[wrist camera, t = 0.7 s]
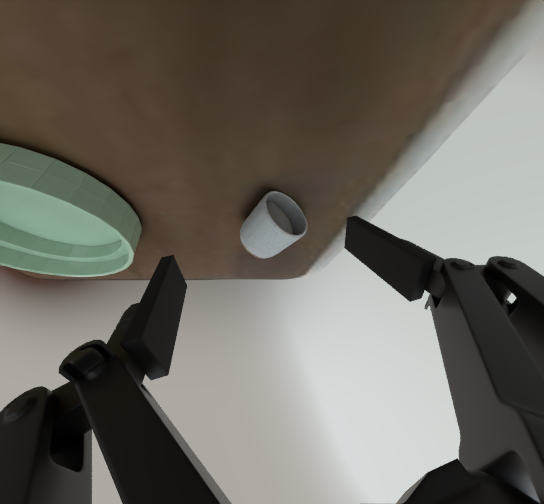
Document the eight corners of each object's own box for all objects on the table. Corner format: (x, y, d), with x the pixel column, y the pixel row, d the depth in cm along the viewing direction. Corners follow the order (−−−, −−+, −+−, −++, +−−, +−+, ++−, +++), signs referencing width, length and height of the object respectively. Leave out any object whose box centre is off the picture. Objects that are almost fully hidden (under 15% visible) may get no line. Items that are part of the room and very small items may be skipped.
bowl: (-156, 133, 17) (-237, 171, 14) (84, 136, 19) (58, 169, 16) (44, 251, 33) (26, 280, 30) (163, 245, 35) (156, 272, 32)
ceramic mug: (235, 219, 32) (237, 259, 28) (261, 182, 26) (268, 226, 22) (286, 235, 37) (293, 270, 33) (316, 208, 32) (329, 246, 28)
